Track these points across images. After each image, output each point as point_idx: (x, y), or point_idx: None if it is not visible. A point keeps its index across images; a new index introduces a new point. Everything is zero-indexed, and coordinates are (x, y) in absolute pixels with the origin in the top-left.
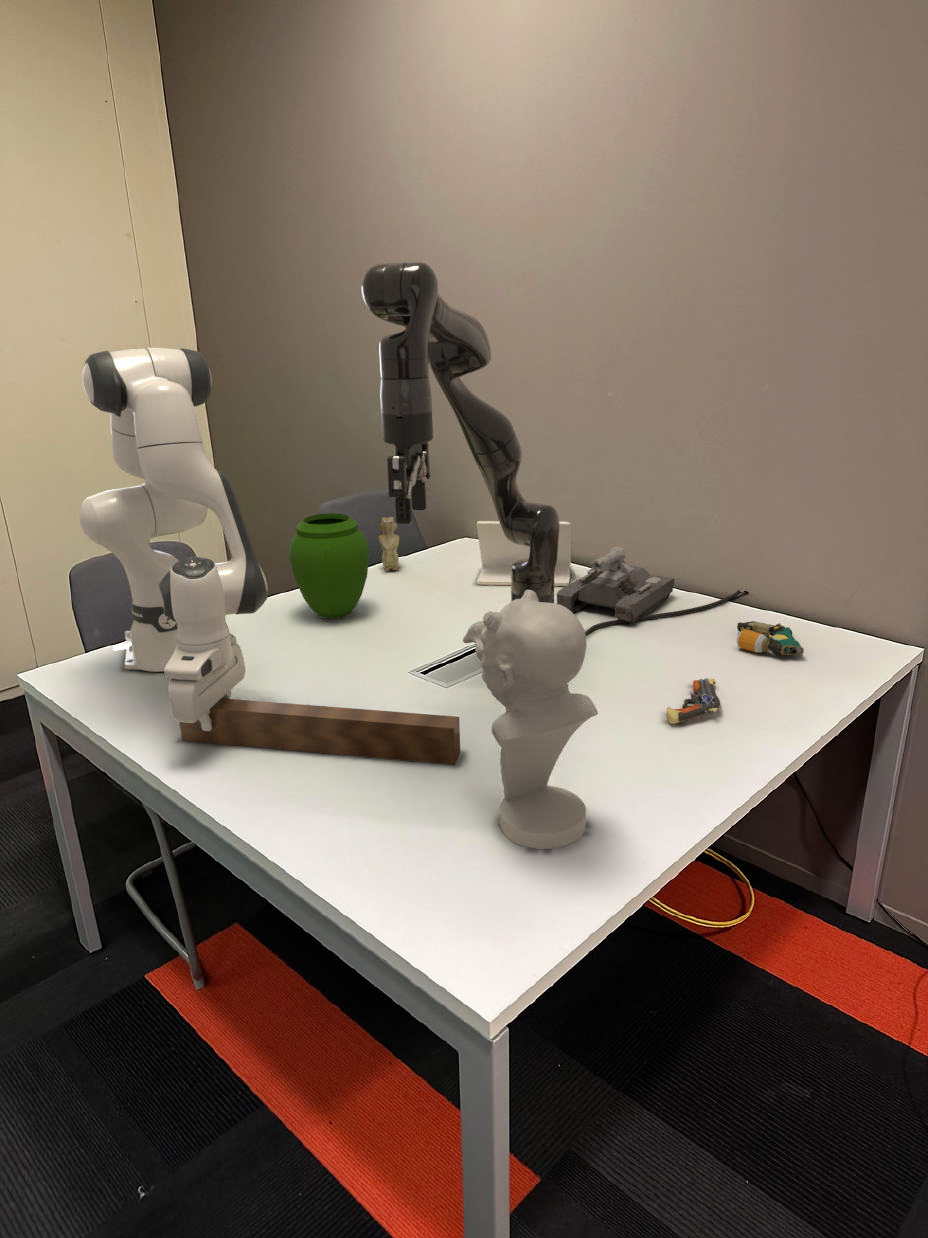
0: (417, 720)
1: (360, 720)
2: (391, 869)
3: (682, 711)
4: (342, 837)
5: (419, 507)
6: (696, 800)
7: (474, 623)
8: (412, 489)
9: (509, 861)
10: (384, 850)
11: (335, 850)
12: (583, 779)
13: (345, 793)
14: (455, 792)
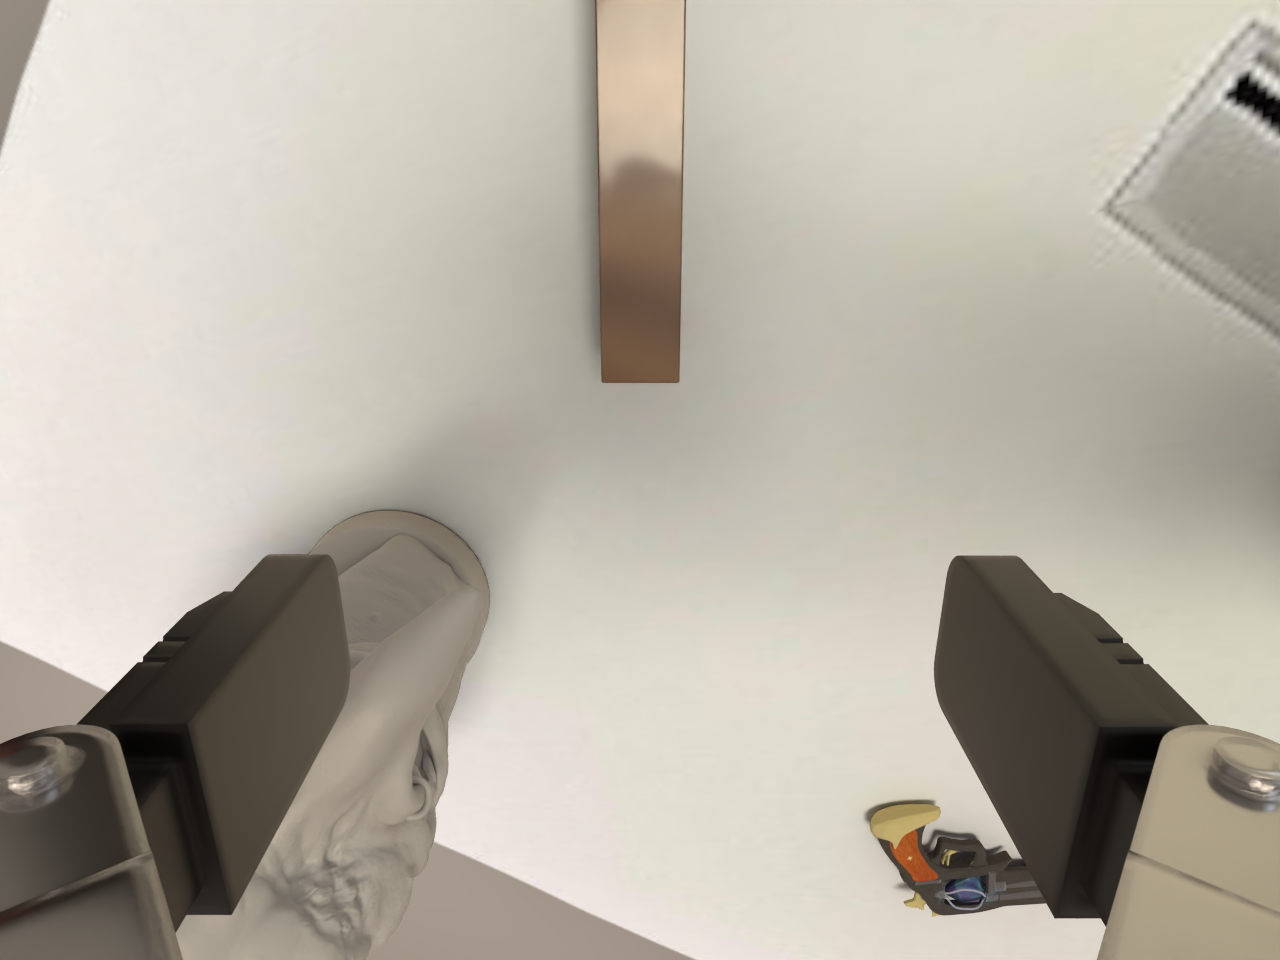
0: (630, 257)
1: (596, 50)
2: (136, 316)
3: (899, 848)
4: (204, 153)
5: (950, 645)
6: (564, 843)
7: (368, 708)
8: (1072, 721)
9: (255, 548)
10: (194, 279)
11: (149, 155)
12: (600, 651)
13: (396, 83)
14: (478, 385)
